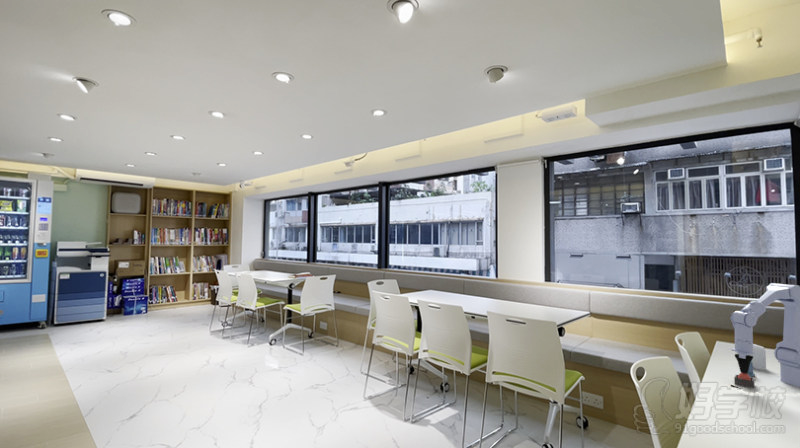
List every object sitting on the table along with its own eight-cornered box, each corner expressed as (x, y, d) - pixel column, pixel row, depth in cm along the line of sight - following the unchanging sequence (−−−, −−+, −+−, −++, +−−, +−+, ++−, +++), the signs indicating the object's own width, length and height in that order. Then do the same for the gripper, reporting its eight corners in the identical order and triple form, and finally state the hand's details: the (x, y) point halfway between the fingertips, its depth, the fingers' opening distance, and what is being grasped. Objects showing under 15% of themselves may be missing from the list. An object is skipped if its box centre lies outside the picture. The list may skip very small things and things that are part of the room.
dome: (738, 379, 161) (738, 370, 161) (751, 382, 158) (751, 373, 158) (737, 381, 158) (737, 372, 159) (750, 384, 155) (750, 375, 156)
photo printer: (737, 367, 187) (736, 342, 188) (738, 365, 190) (738, 340, 190) (765, 372, 179) (765, 346, 180) (766, 371, 182) (766, 345, 182)
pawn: (758, 377, 169) (757, 361, 169) (748, 376, 168) (748, 361, 169) (748, 373, 173) (747, 358, 174) (738, 373, 173) (738, 358, 173)
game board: (737, 373, 176) (737, 365, 176) (760, 378, 170) (760, 369, 170) (730, 386, 159) (730, 376, 159) (756, 392, 153) (756, 382, 153)
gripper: (733, 335, 167) (733, 366, 166) (729, 340, 157) (729, 373, 156) (754, 339, 162) (755, 371, 161) (752, 344, 152) (752, 378, 151)
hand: (744, 372), depth 158 cm, fingers closed
